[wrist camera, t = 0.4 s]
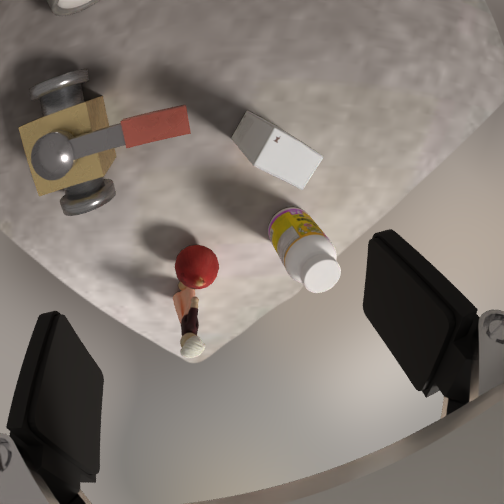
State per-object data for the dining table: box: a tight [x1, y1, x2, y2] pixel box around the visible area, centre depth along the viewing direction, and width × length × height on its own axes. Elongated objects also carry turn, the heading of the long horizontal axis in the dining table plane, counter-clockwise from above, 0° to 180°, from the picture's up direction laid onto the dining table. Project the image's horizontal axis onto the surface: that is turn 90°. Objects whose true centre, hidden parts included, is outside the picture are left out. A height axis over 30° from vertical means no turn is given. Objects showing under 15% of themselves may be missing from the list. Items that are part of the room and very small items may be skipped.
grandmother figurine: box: [173, 281, 206, 358], centre depth 44 cm, size 8×4×13 cm, turn 173°
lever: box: [31, 105, 191, 180], centre depth 27 cm, size 16×5×2 cm, turn 97°
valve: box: [19, 69, 116, 216], centre depth 30 cm, size 15×8×8 cm, turn 7°
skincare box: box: [231, 111, 323, 190], centre depth 34 cm, size 6×4×12 cm
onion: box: [175, 245, 219, 289], centre depth 43 cm, size 6×6×8 cm
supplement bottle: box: [268, 207, 341, 293], centre depth 42 cm, size 7×7×13 cm
